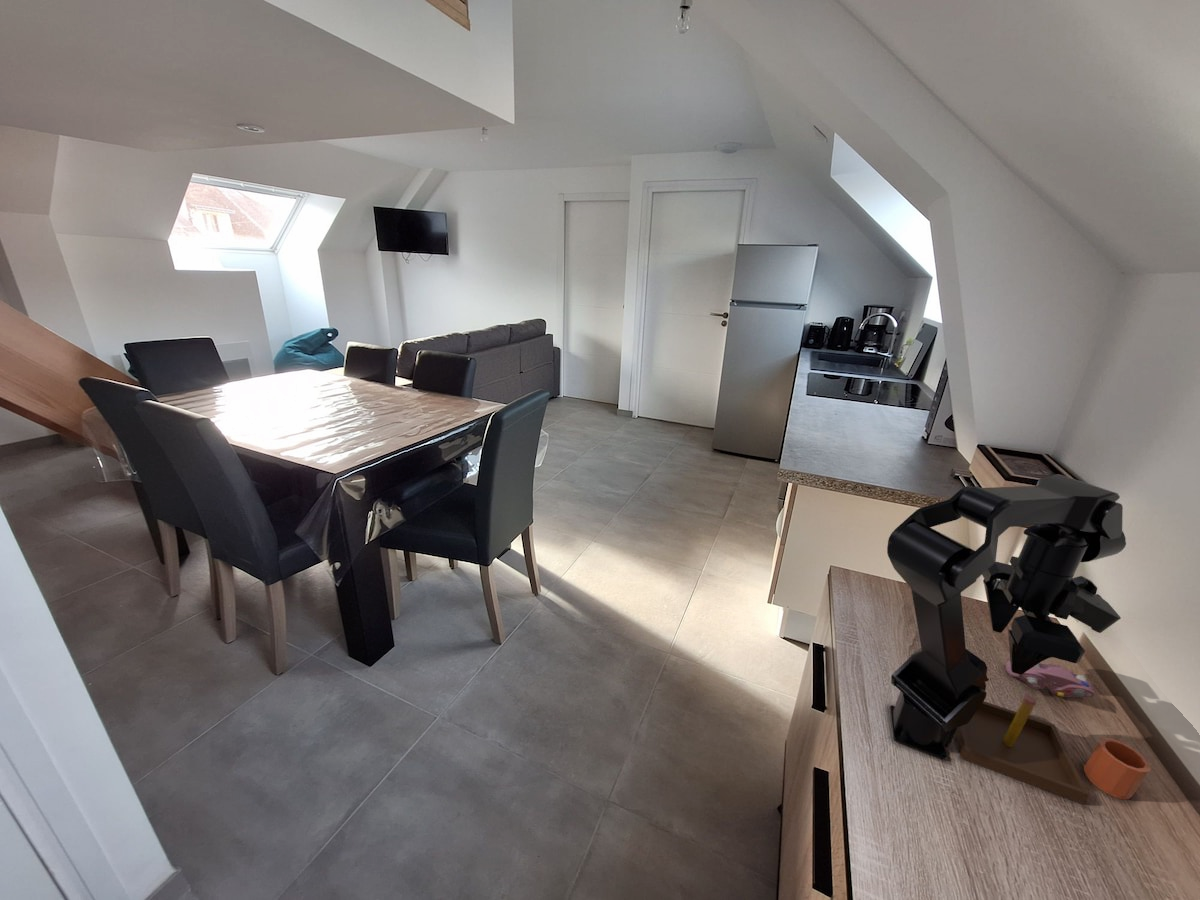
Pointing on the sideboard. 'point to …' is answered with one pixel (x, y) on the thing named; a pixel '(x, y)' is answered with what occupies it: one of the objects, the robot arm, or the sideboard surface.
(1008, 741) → the pencil
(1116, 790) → the pen pot
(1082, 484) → the robot arm
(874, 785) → the sideboard surface
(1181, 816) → the sideboard surface
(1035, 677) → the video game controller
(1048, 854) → the sideboard surface
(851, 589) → the sideboard surface
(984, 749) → the tray
